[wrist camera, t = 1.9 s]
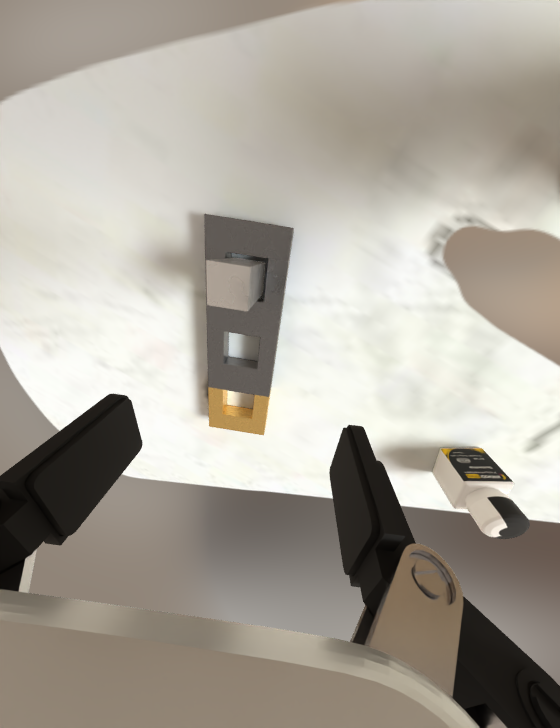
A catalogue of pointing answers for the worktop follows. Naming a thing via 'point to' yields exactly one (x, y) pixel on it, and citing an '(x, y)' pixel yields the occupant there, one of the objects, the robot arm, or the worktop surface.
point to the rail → (245, 322)
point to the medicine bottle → (480, 491)
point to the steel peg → (234, 282)
